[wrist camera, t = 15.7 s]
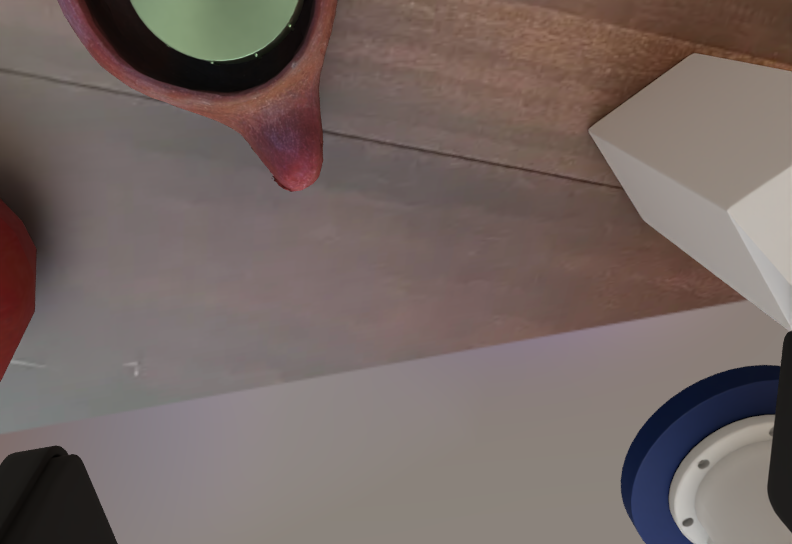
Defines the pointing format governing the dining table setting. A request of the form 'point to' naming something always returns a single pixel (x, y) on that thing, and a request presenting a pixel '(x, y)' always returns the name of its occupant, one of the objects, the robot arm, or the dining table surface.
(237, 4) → the jar lid
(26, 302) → the apple
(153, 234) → the dining table surface
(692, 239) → the milk carton
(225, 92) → the bowl
